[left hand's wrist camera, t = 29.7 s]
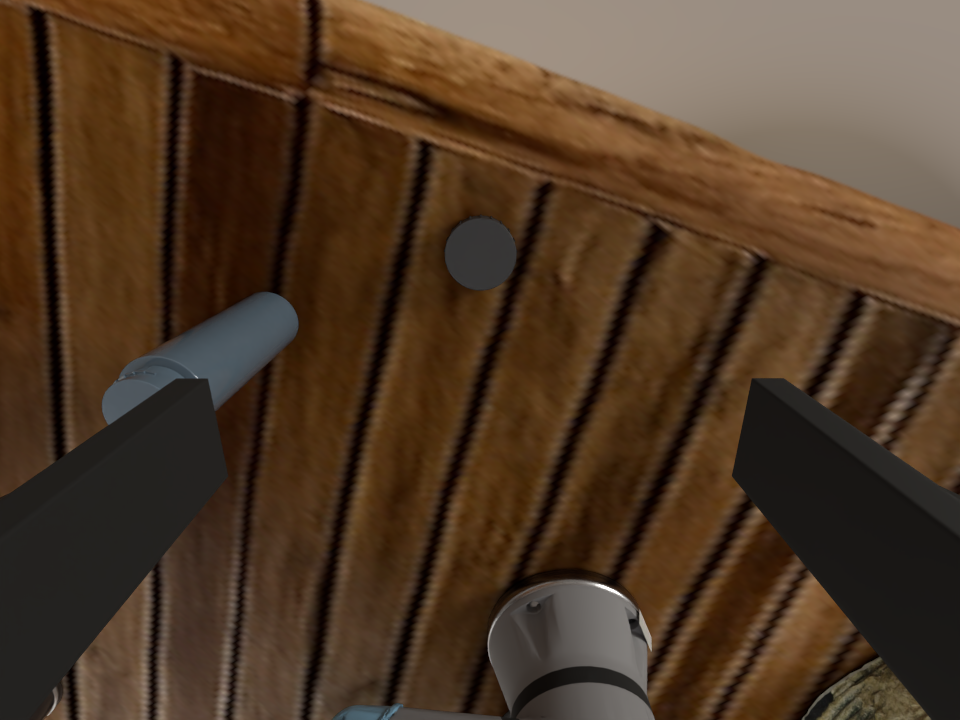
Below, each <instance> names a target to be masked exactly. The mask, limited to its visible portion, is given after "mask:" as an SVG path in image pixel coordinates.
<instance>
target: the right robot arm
mask: <svg viewBox="0 0 960 720" xmlns="http://www.w3.org/2000/svg"><path fill="white" fill-rule="evenodd" d="M61 698H62V685H61V683H60V682H59V683H58V684H57V686H56V687H55V688H54V689H53V690H52V692H51V693H50V694H49V695H48V697H47V698H46V699H45V700H44V701H43V703H42V704H41V705H40V706H39V707H38V709H37V710H36V711H35V712H34V714H33V715H32V716H31V717H30V718H29V720H44V719H45V718H46V716H48V715H49V714H50V713H51V712H52V711H53V709H54V708H55V707H56V706H57V704H58V703H59V702H60V700H61Z"/></svg>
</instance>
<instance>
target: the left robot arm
mask: <svg viewBox="0 0 960 720" xmlns="http://www.w3.org/2000/svg"><path fill="white" fill-rule="evenodd" d="M227 477H228V473H227V469H226V464H225V459H224V454H223V449H222V444H221V439H220V434H219V430H218V425H217V420H216V415H215V410H214V405H213V400H212V395H211V391H210V386H209V381H208V378H176V379H175V380H173V381H172V382H170V383H169V384H168V385H166V386H165V387H163V388H162V389H160V390H159V391H157V392H156V393H154V394H153V395H152V396H150V397H149V398H147V399H146V400H144V401H143V402H141V403H140V404H139V405H137V406H136V407H134V408H133V409H131V410H130V411H128V412H127V413H126V414H124V415H123V416H121V417H120V418H118V419H117V420H115V421H114V422H113V423H111V424H110V425H108V426H107V427H105V428H104V429H102V430H101V431H99V432H98V433H97V434H95V435H94V436H92V437H91V438H89V439H88V440H86V441H85V442H84V443H82V444H81V445H79V446H78V447H76V448H75V449H73V450H72V451H71V452H69V453H68V454H66V455H65V456H63V457H62V458H60V459H59V460H58V461H56V462H55V463H53V464H52V465H50V466H49V467H47V468H46V469H45V470H43V471H42V472H40V473H39V474H37V475H36V476H34V477H33V478H31V479H30V480H29V481H27V482H26V483H24V484H23V485H21V486H20V487H18V488H17V489H16V490H14V491H13V492H11V493H9V494H7V495H5V496H3V497H1V498H0V720H29V718H30V717H31V716H32V715H33V714H34V712H35V711H36V710H37V709H38V707H39V706H40V705H41V704H42V703H43V701H44V700H45V699H46V698H47V697H48V695H49V694H50V693H51V692H52V690H53V689H54V688H55V687H56V686H57V684H58V683H59V682H60V681H61V679H62V678H63V677H64V676H65V675H66V673H67V672H68V671H69V670H70V668H71V667H72V666H73V665H74V664H75V662H76V661H77V660H78V659H79V657H80V656H81V655H82V654H83V653H84V651H85V650H86V649H87V648H88V646H89V645H90V644H91V643H92V642H93V640H94V639H95V638H96V637H97V635H98V634H99V633H100V632H101V631H102V629H103V628H104V627H105V626H106V624H107V623H108V622H109V621H110V620H111V618H112V617H113V616H114V615H115V613H116V612H117V611H118V610H119V609H120V607H121V606H122V605H123V604H124V603H125V601H126V600H127V599H128V598H129V596H130V595H131V594H132V593H133V592H134V590H135V589H136V588H137V587H138V585H139V584H140V583H141V582H142V581H143V579H144V578H145V577H146V576H147V574H148V573H149V572H150V571H151V570H152V568H153V567H154V566H155V565H156V563H157V562H158V561H159V560H160V559H161V557H162V556H163V555H164V554H165V552H166V551H167V550H168V549H169V548H170V546H171V545H172V544H173V543H174V541H175V540H176V539H177V538H178V537H179V535H180V534H181V533H182V532H183V530H184V529H185V528H186V527H187V526H188V524H189V523H190V522H191V521H192V520H193V518H194V517H195V516H196V515H197V513H198V512H199V511H200V510H201V509H202V507H203V506H204V505H205V504H206V502H207V501H208V500H209V499H210V498H211V496H212V495H213V494H214V493H215V491H216V490H217V489H218V488H219V487H220V485H221V484H222V483H223V482H224V480H225V479H226V478H227ZM732 477H733V478H734V479H735V480H736V482H737V483H738V484H739V485H740V487H741V488H742V489H743V490H744V491H745V493H746V494H747V495H748V496H749V498H750V499H751V500H752V501H753V502H754V504H755V505H756V506H757V507H758V509H759V510H760V511H761V512H762V513H763V515H764V516H765V517H766V518H767V520H768V521H769V522H770V523H771V524H772V526H773V527H774V528H775V529H776V530H777V532H778V533H779V534H780V535H781V537H782V538H783V539H784V540H785V541H786V543H787V544H788V545H789V546H790V548H791V549H792V550H793V551H794V552H795V554H796V555H797V556H798V557H799V559H800V560H801V561H802V562H803V563H804V565H805V566H806V567H807V568H808V570H809V571H810V572H811V573H812V574H813V576H814V577H815V578H816V579H817V581H818V582H819V583H820V584H821V585H822V587H823V588H824V589H825V590H826V592H827V593H828V594H829V595H830V596H831V598H832V599H833V600H834V601H835V603H836V604H837V605H838V606H839V607H840V609H841V610H842V611H843V612H844V614H845V615H846V616H847V617H848V618H849V620H850V621H851V622H852V623H853V624H854V626H855V627H856V628H857V629H858V631H859V632H860V633H861V634H862V635H863V637H864V638H865V639H866V640H867V642H868V643H869V644H870V645H871V646H872V648H873V649H874V650H875V651H876V653H877V654H878V655H879V656H880V657H881V659H882V660H883V661H884V662H885V664H886V665H887V666H888V667H889V668H890V670H891V671H892V672H893V673H894V675H895V676H896V677H897V678H898V679H899V681H900V682H901V683H902V684H903V686H904V687H905V688H906V689H907V690H908V692H909V693H910V694H911V695H912V697H913V698H914V699H915V700H916V701H917V703H918V704H919V705H920V706H921V707H922V709H923V710H924V711H925V712H926V714H927V715H928V716H929V717H930V718H931V720H960V495H958V494H956V493H954V492H951V491H949V490H947V489H945V488H943V487H941V486H939V485H937V484H936V483H934V482H933V481H931V480H930V479H929V478H927V477H926V476H924V475H923V474H921V473H920V472H918V471H917V470H915V469H914V468H913V467H911V466H910V465H908V464H907V463H905V462H904V461H902V460H901V459H900V458H898V457H897V456H895V455H894V454H892V453H891V452H889V451H888V450H887V449H885V448H884V447H882V446H881V445H879V444H878V443H876V442H875V441H874V440H872V439H871V438H869V437H868V436H866V435H865V434H863V433H862V432H861V431H859V430H858V429H856V428H855V427H853V426H852V425H850V424H849V423H847V422H846V421H845V420H843V419H842V418H840V417H839V416H837V415H836V414H834V413H833V412H832V411H830V410H829V409H827V408H826V407H824V406H823V405H821V404H820V403H819V402H817V401H816V400H814V399H813V398H811V397H810V396H808V395H807V394H806V393H804V392H803V391H801V390H800V389H798V388H797V387H795V386H794V385H792V384H791V383H790V382H788V381H787V380H785V379H784V378H752V381H751V386H750V391H749V395H748V400H747V405H746V410H745V415H744V420H743V425H742V430H741V434H740V439H739V444H738V449H737V454H736V459H735V464H734V469H733V473H732ZM647 643H648V645H649V647H650V650H651V652H652V646H651V635H650V633H649V631H648V628H647V626H646V623H645V621H644V619H643V616H642V614H641V612H640V609H639V607H638V604H637V603H636V601H635V599H634V598H633V596H632V595H631V594H630V593H629V592H628V591H627V590H626V589H625V588H624V587H623V586H622V585H620V584H619V583H617V582H616V581H614V580H612V579H610V578H608V577H606V576H603V575H601V574H598V573H594V572H590V571H584V570H574V569H563V570H554V571H548V572H544V573H540V574H537V575H534V576H532V577H529V578H527V579H525V580H523V581H521V582H519V583H518V584H516V585H515V586H513V587H512V588H511V589H509V590H508V591H507V592H506V593H505V594H504V595H503V596H502V597H501V598H500V599H499V600H498V602H497V603H496V605H495V606H494V608H493V610H492V612H491V615H490V618H489V622H488V653H489V658H490V661H491V664H492V666H493V668H494V671H495V674H496V676H497V679H498V681H499V684H500V687H501V689H502V692H503V694H504V697H505V700H506V702H507V705H508V708H509V711H508V712H507V713H506V714H505V715H504V716H503V717H498V716H488V715H478V714H467V713H457V712H447V711H437V710H427V709H416V708H406V707H403V704H399V703H396V704H394V705H392V706H372V705H353V706H349V707H347V708H345V709H343V710H342V711H340V712H339V713H338V714H337V715H336V716H335V717H334V718H333V719H332V720H655V719H654V716H653V713H652V710H651V707H650V703H649V700H648V697H647Z"/></svg>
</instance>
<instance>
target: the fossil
mask: <svg viewBox="0 0 960 720" xmlns="http://www.w3.org/2000/svg"><path fill="white" fill-rule="evenodd" d="M802 720H931V718H930V717H929V716H928V715H927V714H926V712H925V711H924V710H923V709H922V707H921V706H920V705H919V704H918V703H917V701H916V700H915V699H914V698H913V697H912V695H911V694H910V693H909V692H908V690H907V689H906V688H905V687H904V686H903V684H902V683H901V682H900V681H899V679H898V678H897V677H896V676H895V675H894V673H893V672H892V671H891V670H890V668H889V667H888V666H887V665H886V664H885V662H884V661H883V660H882V659H881V657H878V658H877V659H875V660H873V661H871V662H869V663H867V664H865V665H864V666H863V667H862V668H861V669H859V670H857V671H855V672H852V673H850V674H849V675H847V676H846V677H844V678H843V679H841V680H840V681H839V682H837V683H836V684H834V685H833V686H831V687H830V688H829V689H827V690H826V691H825V692H824V693H823V694H821V695H820V696H819V697H818V698H817V699H816V701H815V702H814V703H813V705H812V706H811V707H810V708H809V710H808V712H807V714H806V715H805V716H804V717H803V718H802Z"/></svg>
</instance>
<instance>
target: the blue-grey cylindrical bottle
mask: <svg viewBox="0 0 960 720" xmlns="http://www.w3.org/2000/svg"><path fill="white" fill-rule="evenodd" d="M297 331H298V318H297V314H296V312H295V310H294V308H293V307H292V305H291V304H290V303H289V302H288V301H287V300H285V299H284V298H283V297H281V296H279V295H277V294H274V293H270V292H259V293H255V294H252V295H251V296H249V297H247V298H245V299H243V300H242V301H240V302H238V303H236V304H234V305H232V306H231V307H229V308H227V309H225V310H223V311H222V312H220V313H218V314H216V315H214V316H213V317H211V318H209V319H207V320H205V321H204V322H202V323H200V324H198V325H196V326H194V327H193V328H191V329H189V330H187V331H185V332H184V333H182V334H180V335H178V336H176V337H175V338H173V339H171V340H169V341H167V342H166V343H164V344H162V345H160V346H158V347H157V348H155V349H153V350H151V351H149V352H147V353H146V354H144V355H142V356H140V357H138V358H137V359H135V360H133V361H131V362H130V363H129V364H128V365H126V367H125V368H124V369H123V370H122V372H121V374H120V376H119V379H117V380H116V381H115V382H114V383H113V385H111V386H110V387H109V388H108V389H107V390H106V392H105V394H104V396H103V399H102V412H103V415H104V418H105V420H106V422H107V424H108V425H110V424H111V423H113V422H114V421H115V420H117V419H118V418H120V417H121V416H123V415H124V414H126V413H127V412H128V411H130V410H131V409H133V408H134V407H136V406H137V405H139V404H140V403H141V402H143V401H144V400H146V399H147V398H149V397H150V396H152V395H153V394H154V393H156V392H157V391H159V390H160V389H162V388H163V387H165V386H166V385H168V384H169V383H170V382H172V381H173V380H175V379H176V378H208V381H209V386H210V391H211V395H212V400H213V405H214V410H215V411H216V410H218V409H219V408H220V407H221V406H222V405H223V404H224V403H225V402H226V401H227V400H228V399H229V398H231V397H232V396H233V395H234V394H235V393H236V392H237V391H238V390H239V389H240V388H241V387H243V386H244V385H245V384H246V383H247V382H248V381H249V380H250V379H251V378H252V377H253V376H255V375H256V374H257V373H258V372H259V371H260V370H261V369H262V368H263V367H264V366H265V365H267V364H268V363H269V362H270V361H271V360H272V359H273V358H274V357H275V356H276V355H277V354H279V353H280V352H281V351H282V350H283V349H284V348H285V347H286V346H287V345H288V344H289V343H291V341H292V340H293V339H294V338H295V336H296V334H297Z"/></svg>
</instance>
